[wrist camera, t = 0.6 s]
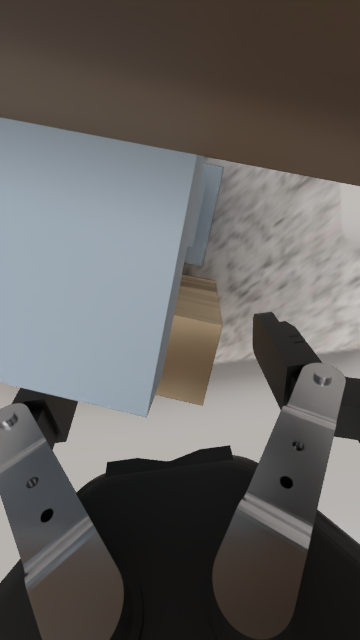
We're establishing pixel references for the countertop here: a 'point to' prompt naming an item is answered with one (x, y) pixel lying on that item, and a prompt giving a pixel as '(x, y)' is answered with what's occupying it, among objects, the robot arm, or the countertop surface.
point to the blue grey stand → (94, 260)
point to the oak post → (192, 341)
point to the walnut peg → (193, 77)
